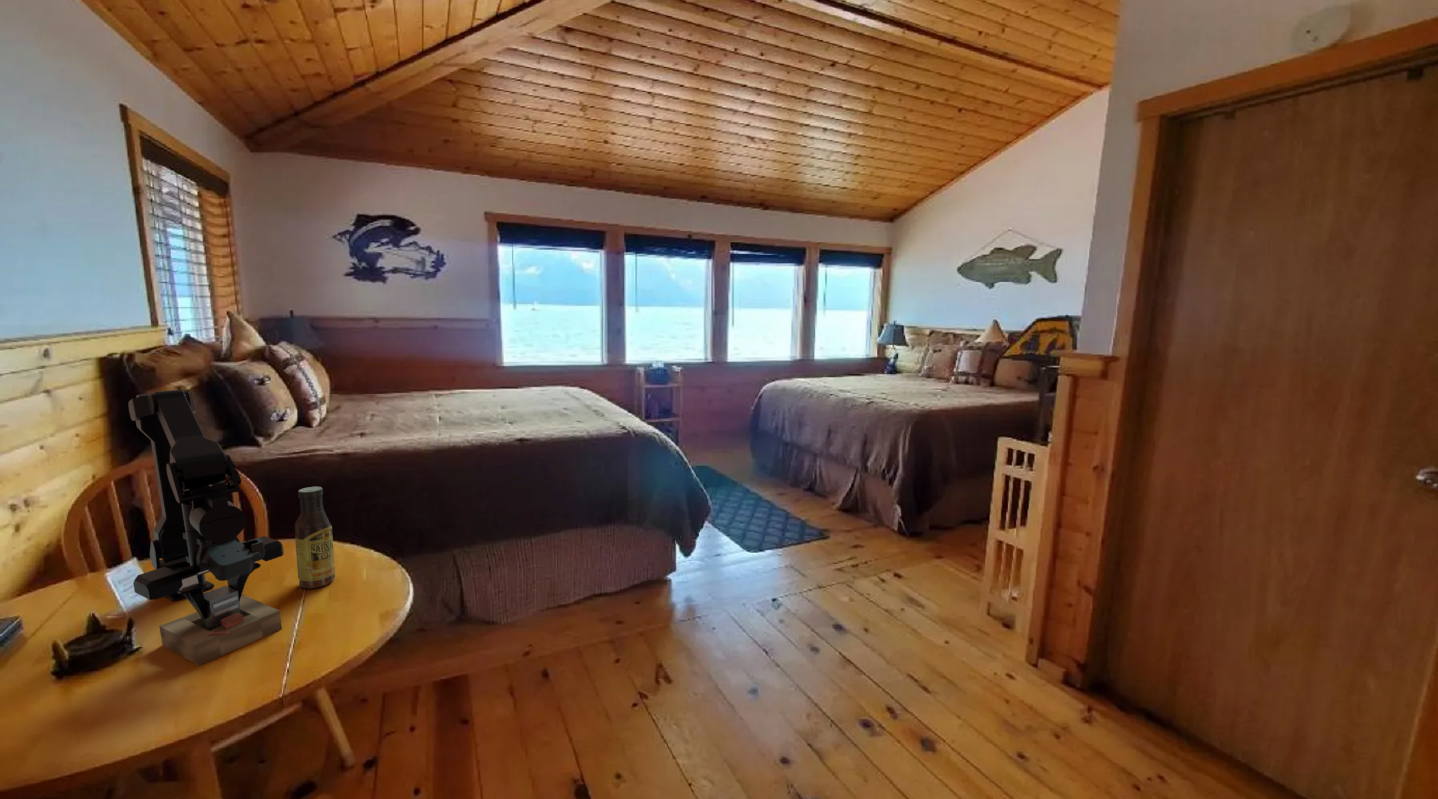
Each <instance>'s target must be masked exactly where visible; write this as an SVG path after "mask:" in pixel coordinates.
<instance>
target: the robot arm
mask: <svg viewBox="0 0 1438 799" xmlns="http://www.w3.org/2000/svg"><path fill="white" fill-rule="evenodd" d="M128 411H129V416H130V417H129V418H130V419H131V421H132V422H134V421H135V424H136V425H135V426H136V428H137V429H138V430H139V431H140V432H141V433H142V434H144V435H145V437H147V438H148V439H149V440H150V444H151V450H152V456H153V462H154V469H155V475H156V476H155V477H156V482H157V488H158V494H159V495H158V496H159V501H160V507H161V513H162V514H161V516H160V518H159V519H158V521H157V523H156V524H155V526H154V527H153V530H152V531H153V538H154V539H153V540H151V541H150V547H149V548H150V549H149V558H150V562H151V567H153V570H150V571H148V572H144V573H141V574H138V575H137V576H136V577H135V578H134V580H133V583H132V585H133V589H134V590H133V591H134V593H135V594H137V595H139V596H142V597H143V598H145V599H147V600H149V601H154V600H158V599H159V600H160V599H162V598H168V599H169V600H171V601H179V600H182V599H184V598H185V599H186V600H188V602H189V604H190V605H191V606H192V607H193V608H194V610H195V612H198V613H199V615H200V616H201V617H202V618H203V619H207V618H208V617H207V608H206V604H205V600H204V595H203V593H204V592H205V591H208V590H210V589H212V588H215V583H212V582H210V581H208V580H206V575H205V574H208V573H211V574H212V575H213V577H214V578H215V579H216V580H218V581H220V582H225V581H227V587H230V588H232V589H234V590H237V591H238V597H239V602H240V598H241V595H243V592H244V589H245V586H246V583H247V580H248V578H249V577H250V575H251V574H252V573H253V572H254V571H256V570H257V569H259V568H261V566H262V565H261V563H259V561H261V560H262V561H264V562H268V561H272V560H274V559H277V558H280V557H283V555H285V554H284V553H285V552H284V546H283V543H282V542H281V541H279V540H277V539H274V538H271V537H268V536H265V535H262V536H259V537H256V538H253V539H250V540H245V541H241V542H240V540H239V539H238V537H237V536H238V535H239V534H241V533H242V531H243V530H244V529H245V526H246V523H247V522H246V521H247V517H246V515H245V514H244V512H243V511H242V510H241V509H240V508H239V507H238V506H236V505H235V504H234V503H232V501H231V499H230V494H233V493H239V492H241V487H240V486H241V484H242V478H241V475H240V473H239V471H238V468H237V464H236V462H235V461H234V459H232V458H231V455H229V454H228V453H225V452H224V450H223V448H222V447H221V445H220V443H219V442H216V441H213V440H211V439H209V438H207V437H206V436H205V435H204V432H203V429H202V428H201V426H200V423H199V422H198V419H197V417H196V415H195V413H197V407H196V402H195V398H194V393H193V392H189V391H188V390H183V389H169V390H159V391H154V392H153V393H143V394H137V395H136V397H133V398H131V399H130V400H129V401H128ZM227 479H228V482H227Z"/></svg>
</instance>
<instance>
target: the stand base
mask: <svg viewBox="0 0 1438 799" xmlns="http://www.w3.org/2000/svg"><path fill="white" fill-rule="evenodd" d="M239 604H240V612H241V614H240V613H236V614H233V615H231V616H228V617H226V618H223V619H221V623H222V626H221V627H218V628H216V629H213V630H211V631H207V630H205V629H204V628H202V625H201V618H200V615H199V613H198V612H197V611H195V612H193V613H190V614H187V615H185V616H183V617H182V616H181V617H179V618H177V619H175V620H172V621H169V622H166V623H164V624H162V625H161V624H160V625H159V632H160V637H161V644H162V647H165V648H167V649H168V650H171V651H172V652H173V653H175V654H177V655H179V656H181V657H182V658H185V659H186V660H187V661H190V662H191V663H193V664H195V665H196V666H202V665H204V664H206V663H208V662H210V661H213V660H215V659H217V658H219V657H222V656H224V655H227V654H228V653H230V652H233V651H235V650H238V649H240V648H242V647H244V646H246V645H249V644H251V643H253V642H256V641H258V640H260V639H263V638H265V637H267V636H269V635H272V634H275V633H276V632H278V631H280V630H282V629H283V627H282V619H281V617H282V616H281V611H280V610H279V609H277V608H275V607H273V606H270V605H268V604H266V603H263V602H261V601H258V600H257V599H254V598H251V597H249V596H247V595H245V594H242V595H241V598H240V602H239Z"/></svg>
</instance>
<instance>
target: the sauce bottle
mask: <svg viewBox="0 0 1438 799" xmlns="http://www.w3.org/2000/svg"><path fill="white" fill-rule="evenodd" d="M323 490H324V489H323V487H321V486H309V487H304V488H301V489H298V492H297V496H298V498H299V503H300V504H299V505H300V508H299V510H300V514H299V516H298V517H297V518H296V521H295V524H294V530H295V531H294V532H295V533H294V534H295V536H294V540H295V553H296V554H295V555H296V567H297V569H296V570H297V578H298V580H299V587H300V588H302V589H307V590H308V589H309V590H312V589H318V588H321V587H325V586H327V585H330V583H332V582H333V581H334V580H335V578H336V576H335V573H336V565H335V551H334V538H333V526H332V523H331V522H330V521H329V518H328V516H327V513H326V512H325V509H324V505H323V495H324V492H323Z"/></svg>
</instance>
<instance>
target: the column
mask: <svg viewBox="0 0 1438 799" xmlns="http://www.w3.org/2000/svg"><path fill="white" fill-rule="evenodd" d="M203 595H204V600H205V604H206V608H207V617H208V618H207V619H203V618H202V617H201V616H200V618H201V625H202V628H204V629H205V630H207V631H211V630H213V629H216V628H218V627H221V626H222V623H221V619H223V618H226V617H228V616H231V615H233V614H236V613H240V614H241V612H240V604H239V597H238V591H237V590H234V589H232V588H230V587H228V585H223V586H220V587H217V588H215V589H212V590H209V591H206V592H203Z"/></svg>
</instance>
